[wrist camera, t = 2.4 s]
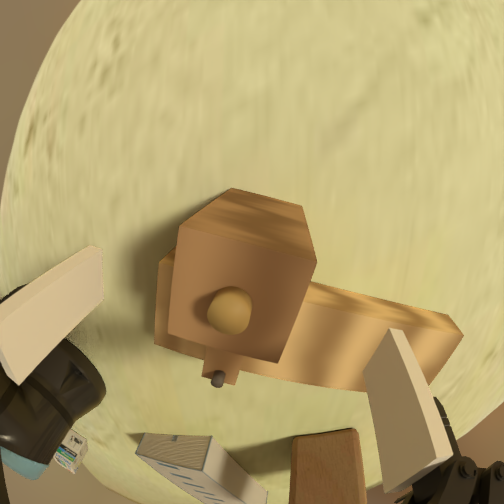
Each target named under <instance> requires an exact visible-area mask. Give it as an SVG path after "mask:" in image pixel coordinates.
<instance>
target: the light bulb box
mask: <svg viewBox="0 0 504 504" xmlns="http://www.w3.org/2000/svg"><path fill="white" fill-rule="evenodd" d="M87 451H88V446H87V440H86V439H85V438H84V437H82V436H80V435H79V434H77V433H76V432H74V431H73V430H71V429H70V430H69V432H68V433H67V435H66V437H65V438H64V440H63V441H62V443H61V445H60V446H59V448H58V450H57V451H56V453H55V455H54V456H53V457H54V459H55V460H56V462H57V463H58V464H60V465H61V466H63V467H64V468H66V469H67V470H69V471H70V472H72V473H73V474H75V473H76V471H77V469H78V467H79V465H80V463H81V462H82V460H83V458H84V456H85V454H86V452H87Z"/></svg>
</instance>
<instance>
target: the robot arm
mask: <svg viewBox="0 0 504 504" xmlns="http://www.w3.org/2000/svg"><path fill="white" fill-rule="evenodd" d="M103 300H104V292H103V268H102V249H100V248H97V247H94V246H91V245H89V246H88V247H86V248H84V249H82V250H81V251H79V252H77V253H76V254H74V255H72V256H71V257H69V258H68V259H66V260H64V261H63V262H61V263H60V264H58V265H56V266H55V267H53V268H52V269H50V270H49V271H47V272H46V273H44V274H43V275H41V276H40V277H38V278H37V279H35V280H34V281H32V282H31V283H29V284H25V285H23V286H20V287H17V288H16V289H14V290H13V291H12V292H10V293H9V295H6V296H5V297H3V298H2V300H1V299H0V504H10V502H9V498H8V493H7V489H6V484H5V478H4V472H3V466H2V462H3V463H4V464H5V465H7V466H8V467H10V468H11V469H12V470H14V471H15V472H17V473H18V474H20V475H22V476H23V477H25V478H27V479H31V480H36V479H38V478H39V477H40V476H41V475H42V473H43V472H44V471H45V469H46V468H47V467H48V466H49V463H50V461H51V459H52V458H53V456H54V455H55V453H56V451H57V450H58V448H59V446H60V445H61V443H62V441H63V440H64V438H65V437H66V435H67V433H68V432H69V430H70V429H71V427H72V426H73V424H74V423H75V421H76V420H78V419H79V418H81V417H82V416H84V415H85V414H87V413H88V412H90V411H91V410H92V409H94V408H95V407H97V406H98V405H99V404H100V403H101V401H102V400H103V398H104V397H105V394H106V387H105V384H104V382H103V380H102V378H101V376H100V374H99V373H98V371H97V370H96V368H95V367H94V366H93V364H92V363H91V362H90V361H89V360H88V359H87V358H86V356H85V355H84V354H83V353H82V352H80V351H79V350H78V349H77V348H76V347H75V346H74V345H72V344H71V343H70V342H68V341H67V340H66V339H64V337H65V336H66V335H67V334H68V333H69V332H70V331H71V330H72V329H73V328H74V327H76V326H77V325H78V324H79V323H80V322H81V321H82V320H83V319H84V318H85V317H86V316H87V315H88V314H89V313H90V312H91V311H92V310H93V309H94V308H95V307H96V306H97V305H99V304H100V303H101V302H102V301H103ZM362 372H363V376H364V381H365V385H366V389H367V394H368V398H369V403H370V408H371V413H372V418H373V423H374V428H375V434H376V440H377V445H378V452H379V458H380V464H381V472H382V479H383V487H384V493H392V492H399V491H402V490H404V489H406V488H407V487H409V486H410V485H412V488H413V490H412V491H410V492H409V493H407V494H405V495H404V496H402V497H400V498H398V499H397V500H396V501H395V502H394V503H398V502H400V501H402V500H404V501H403V503H401V504H504V463H503V462H501V461H496V462H495V463H493V464H492V465H491V466H490V467H488V468H487V469H486V468H477V466H476V464H475V462H474V461H473V460H472V459H471V458H469V457H466V456H464V457H462V456H461V454H460V451H459V448H458V445H457V442H456V439H455V436H454V434H453V431H452V428H451V426H450V423H449V420H448V418H446V417H447V415H446V412H445V410H444V407H443V405H442V404H441V403H440V402H439V400H438V399H437V398H436V397H433V396H432V394H431V391H430V389H429V387H428V384H427V382H426V380H425V377H424V375H423V373H422V370H421V368H420V366H419V364H418V362H417V359H416V357H415V355H414V353H413V351H412V349H411V347H410V345H409V343H408V340H407V338H406V336H405V334H404V332H403V330H398V329H393V328H389V329H388V330H387V332H386V334H385V336H384V337H383V339H382V341H381V343H380V344H379V346H378V348H377V349H376V351H375V352H374V354H373V356H372V357H371V359H370V360H369V362H368V364H367V365H366V367H365V368H364V370H363V371H362Z"/></svg>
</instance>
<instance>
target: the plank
mask: <svg viewBox="0 0 504 504" xmlns="http://www.w3.org/2000/svg"><path fill="white" fill-rule="evenodd" d="M175 253H176V247H175V248H174V249H173V250H171V251H170V252H169V253H168V254H167V255H166V256H165V257H164V258H163V259H162V260H161V261H160V262H159V266H158V278H157V292H156V309H155V335H154V344H156V345H159V346H162V347H165V348H168V349H171V350H174V351H177V352H180V353H183V354H186V355H189V356H192V357H195V358H199V359H202V360H205V354H206V349H207V345H203V344H200V343H197V342H193V341H190V340H187V339H184V338H181V337H178V336H175V335H172V334H169V333H168V322H169V309H170V298H171V288H172V279H173V270H174V261H175ZM389 328H393V329H398V330H403V332H404V334H405V336H406V338H407V340H408V343H409V345H410V347H411V349H412V351H413V353H414V355H415V357H416V359H417V362H418V364H419V366H420V368H421V370H422V373H423V375H424V377H425V380H426V382H427V384H428V386H429V385H430V383H431V382H432V381H433V380H434V378H435V377H436V376H437V374H438V373H439V372H440V370H441V369H442V367H443V366H444V365H445V363H446V362H447V360H448V359H449V358H450V356H451V355H452V353H453V352H454V350H455V349H456V347H457V346H458V344H459V343H460V341H461V339H462V338H463V336H464V335H463V334H462V332H461V331H460V330H459V328H458V327H457V326H456V324H455V323H454V322H453V320H452V319H451V318H450V316H449V315H446V314H441V313H437V312H433V311H429V310H424V309H420V308H416V307H412V306H408V305H403V304H399V303H395V302H391V301H387V300H383V299H379V298H375V297H371V296H366V295H362V294H358V293H354V292H350V291H346V290H342V289H338V288H334V287H330V286H327V285H323V284H319V283H315V282H311V281H310V284H309V287H308V289H307V292H306V295H305V297H304V300H303V303H302V305H301V308H300V310H299V313H298V316H297V318H296V321H295V323H294V326H293V328H292V331H291V333H290V336H289V338H288V341H287V343H286V346H285V348H284V350H283V353H282V355H281V358H280V360H279V362H278V364H276V363H272V362H268V361H263V360H259V359H255V358H251V357H247V356H244V358H243V361H242V364H241V367H240V370H242V371H246V372H250V373H254V374H259V375H263V376H268V377H272V378H277V379H282V380H287V381H292V382H297V383H303V384H309V385H315V386H321V387H328V388H335V389H342V390H350V391H359V392H367V389H366V385H365V381H364V376H363V372H362V371H363V370H364V368H365V367H366V365H367V364H368V362H369V360H370V359H371V357H372V356H373V354H374V352H375V351H376V349H377V348H378V346H379V344H380V343H381V341H382V339H383V337H384V336H385V334H386V332H387V330H388V329H389Z"/></svg>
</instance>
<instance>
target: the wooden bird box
mask: <svg viewBox="0 0 504 504" xmlns="http://www.w3.org/2000/svg"><path fill="white" fill-rule="evenodd" d="M316 264H317V259H316V255H315V251H314V247H313V244H312V240H311V236H310V233H309V229H308V225H307V222H306V218H305V215H304V211H303V208H302V206H300V205H297V204H293V203H289V202H286V201H282V200H278V199H275V198H271V197H267V196H263V195H259V194H255V193H251V192H247V191H243V190H239V189H235V188H231V189H230V190H228V191H227V192H225V193H224V194H222V195H221V196H220V197H218V198H217V199H215V200H214V201H212V202H211V203H210V204H208V205H207V206H205V207H204V208H203V209H201V210H200V211H199V212H197V213H196V214H194V215H193V216H192V217H190V218H189V219H188V220H186V221H185V222H184V223H182V224H181V225H180V226H179V231H178V238H177V246H176V253H175V261H174V270H173V279H172V288H171V298H170V309H169V322H168V333H169V334H172V335H175V336H178V337H181V338H184V339H187V340H190V341H193V342H197V343H200V344H203V345H207V349H206V354H205V360H204V365H203V371H202V377H206V378H209V379H212V380H211V384H212V386H214V387H217V388H220V387H222V386H223V383H227V384H231V385H235V383H236V380H237V377H238V374H239V370H240V367H241V364H242V361H243V358H244V356H247V357H251V358H255V359H259V360H263V361H268V362H272V363H276V364H278V362H279V360H280V358H281V355H282V353H283V350H284V348H285V346H286V343H287V341H288V338H289V336H290V333H291V331H292V328H293V326H294V323H295V321H296V318H297V316H298V313H299V310H300V308H301V305H302V303H303V300H304V297H305V295H306V292H307V289H308V287H309V284H310V281H311V278H312V275H313V273H314V270H315V267H316Z"/></svg>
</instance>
